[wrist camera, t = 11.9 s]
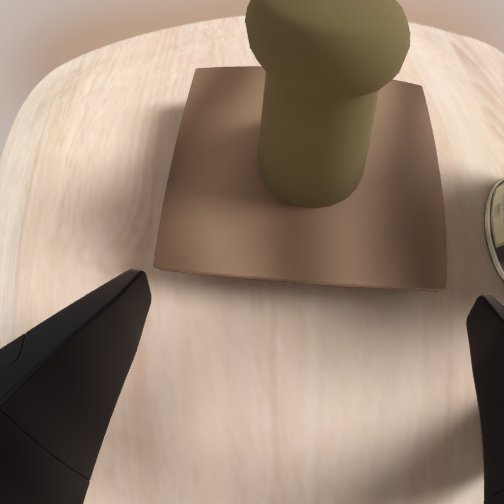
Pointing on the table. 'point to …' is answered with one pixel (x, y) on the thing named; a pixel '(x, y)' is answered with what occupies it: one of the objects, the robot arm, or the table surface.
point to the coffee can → (496, 225)
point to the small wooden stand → (297, 217)
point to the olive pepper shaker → (322, 90)
